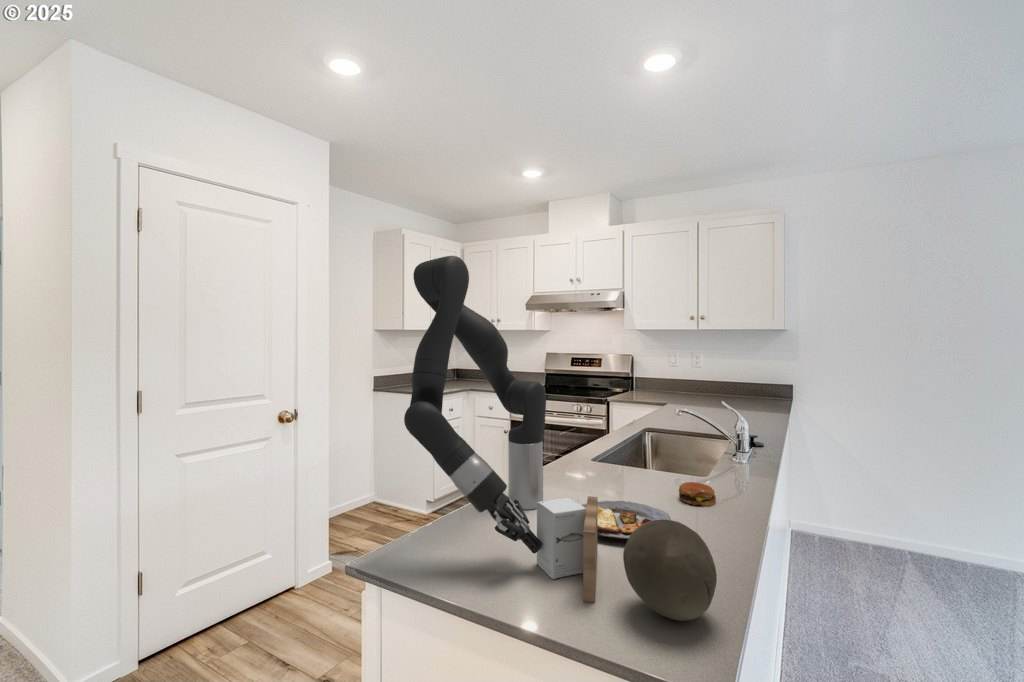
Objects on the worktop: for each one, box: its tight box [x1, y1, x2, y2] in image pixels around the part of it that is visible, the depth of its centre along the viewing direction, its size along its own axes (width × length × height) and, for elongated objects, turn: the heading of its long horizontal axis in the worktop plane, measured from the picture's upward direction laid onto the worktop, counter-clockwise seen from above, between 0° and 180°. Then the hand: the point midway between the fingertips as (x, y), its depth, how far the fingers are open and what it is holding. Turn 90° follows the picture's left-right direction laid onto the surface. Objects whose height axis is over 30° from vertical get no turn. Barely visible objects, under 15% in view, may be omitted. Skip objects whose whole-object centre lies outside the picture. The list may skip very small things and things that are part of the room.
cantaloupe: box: [622, 519, 717, 622], centre depth 81 cm, size 14×14×15 cm
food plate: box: [580, 500, 672, 540], centre depth 119 cm, size 25×23×4 cm
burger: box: [678, 481, 717, 508], centre depth 137 cm, size 10×9×5 cm
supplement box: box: [536, 497, 586, 580], centre depth 97 cm, size 7×7×13 cm
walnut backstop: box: [582, 495, 599, 603], centre depth 94 cm, size 19×2×12 cm, turn 169°
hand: (538, 549), depth 96 cm, fingers closed
